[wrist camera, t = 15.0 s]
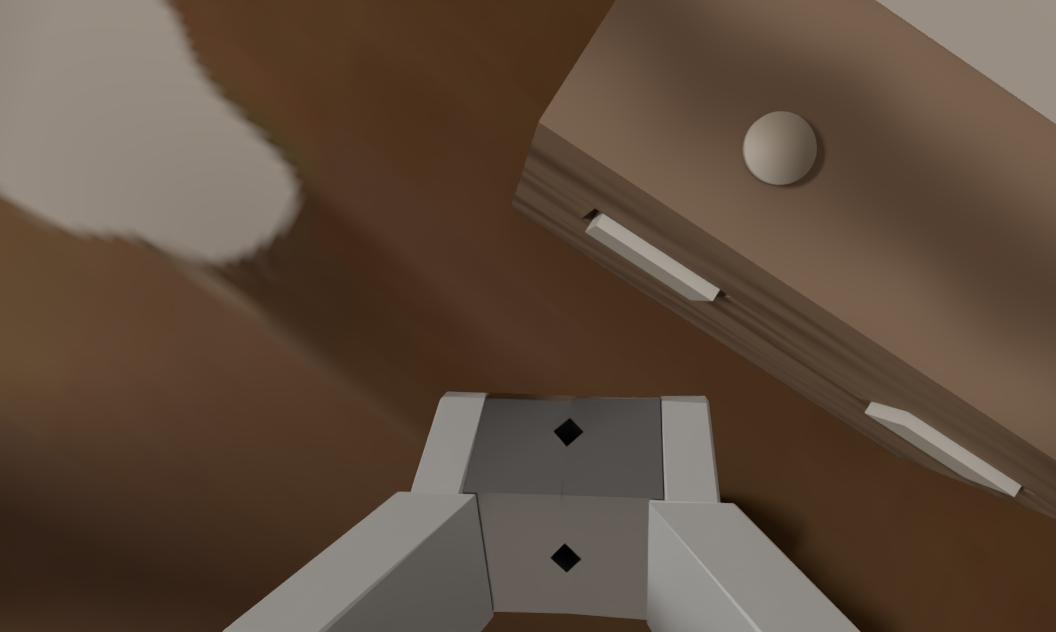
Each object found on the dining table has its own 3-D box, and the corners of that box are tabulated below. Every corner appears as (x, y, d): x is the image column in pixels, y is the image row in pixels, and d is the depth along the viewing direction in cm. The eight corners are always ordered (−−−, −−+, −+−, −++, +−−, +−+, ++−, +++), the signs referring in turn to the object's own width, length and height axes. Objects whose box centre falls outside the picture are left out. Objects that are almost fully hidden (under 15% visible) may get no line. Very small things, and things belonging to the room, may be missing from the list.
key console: (896, 456, 46) (1292, 612, 23) (511, 207, 44) (539, 119, 22) (971, 337, 46) (1438, 379, 23) (589, 84, 44) (697, -130, 22)
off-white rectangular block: (964, 477, 34) (1014, 497, 31) (864, 412, 34) (904, 425, 30) (1039, 358, 34) (1097, 364, 31) (940, 292, 34) (988, 292, 30)
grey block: (690, 300, 33) (712, 301, 30) (585, 232, 33) (595, 225, 30) (768, 177, 33) (798, 165, 30) (663, 108, 33) (682, 88, 30)
